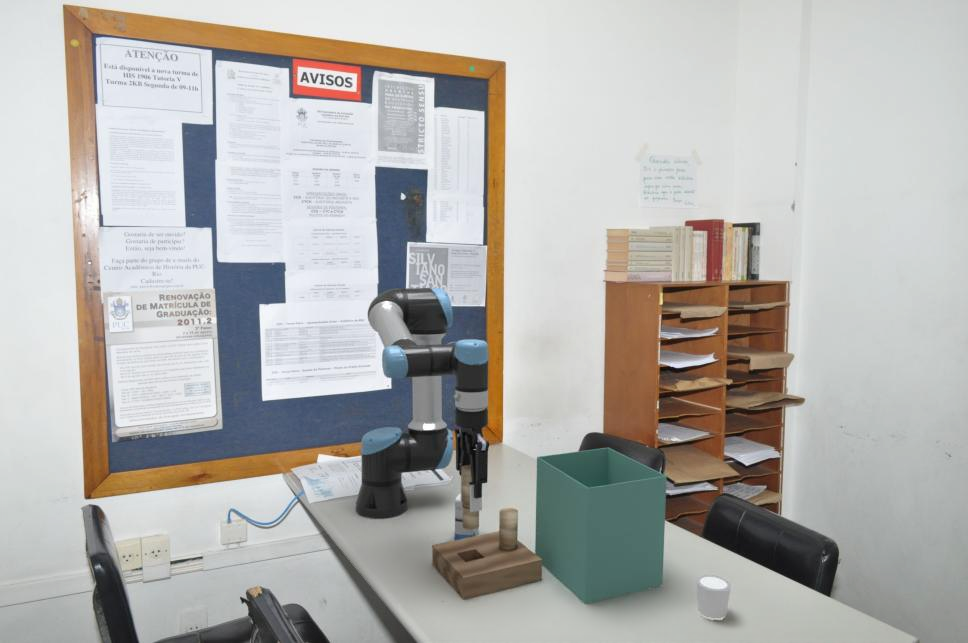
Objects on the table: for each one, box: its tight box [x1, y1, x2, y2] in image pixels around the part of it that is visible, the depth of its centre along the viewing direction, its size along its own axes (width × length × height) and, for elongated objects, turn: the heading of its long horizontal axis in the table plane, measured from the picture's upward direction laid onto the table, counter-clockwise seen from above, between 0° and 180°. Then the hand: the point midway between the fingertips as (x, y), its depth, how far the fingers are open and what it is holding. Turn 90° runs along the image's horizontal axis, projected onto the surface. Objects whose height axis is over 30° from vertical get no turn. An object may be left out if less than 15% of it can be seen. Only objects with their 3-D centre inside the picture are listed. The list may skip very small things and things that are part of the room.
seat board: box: [431, 507, 543, 600], centre depth 158 cm, size 18×20×14 cm
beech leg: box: [460, 465, 480, 530], centre depth 155 cm, size 4×4×14 cm
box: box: [534, 447, 668, 605], centre depth 158 cm, size 23×21×26 cm
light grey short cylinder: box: [695, 574, 732, 618], centre depth 141 cm, size 7×7×7 cm
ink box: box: [454, 491, 480, 540], centre depth 177 cm, size 8×5×12 cm, turn 168°
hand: (471, 506), depth 155 cm, fingers closed on beech leg, 4 cm apart
